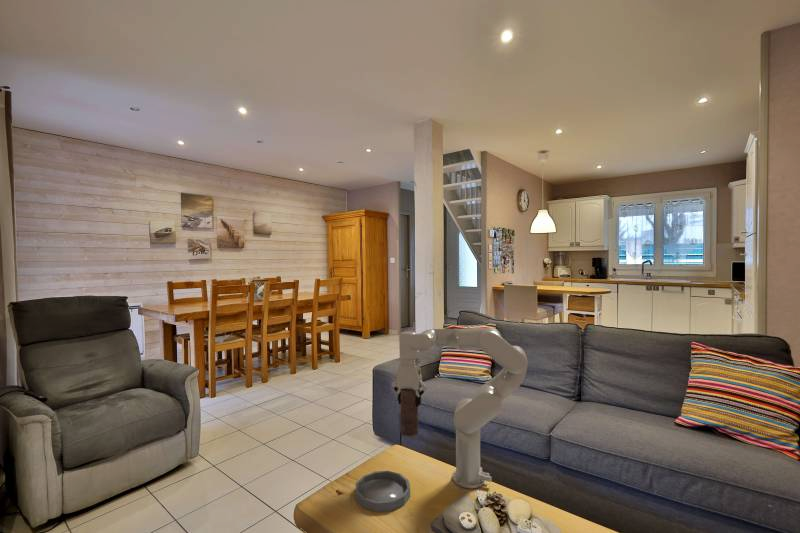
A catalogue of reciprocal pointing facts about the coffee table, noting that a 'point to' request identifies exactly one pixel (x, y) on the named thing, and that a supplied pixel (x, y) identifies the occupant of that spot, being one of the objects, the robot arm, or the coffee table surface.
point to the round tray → (382, 491)
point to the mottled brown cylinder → (409, 413)
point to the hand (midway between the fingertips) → (409, 404)
